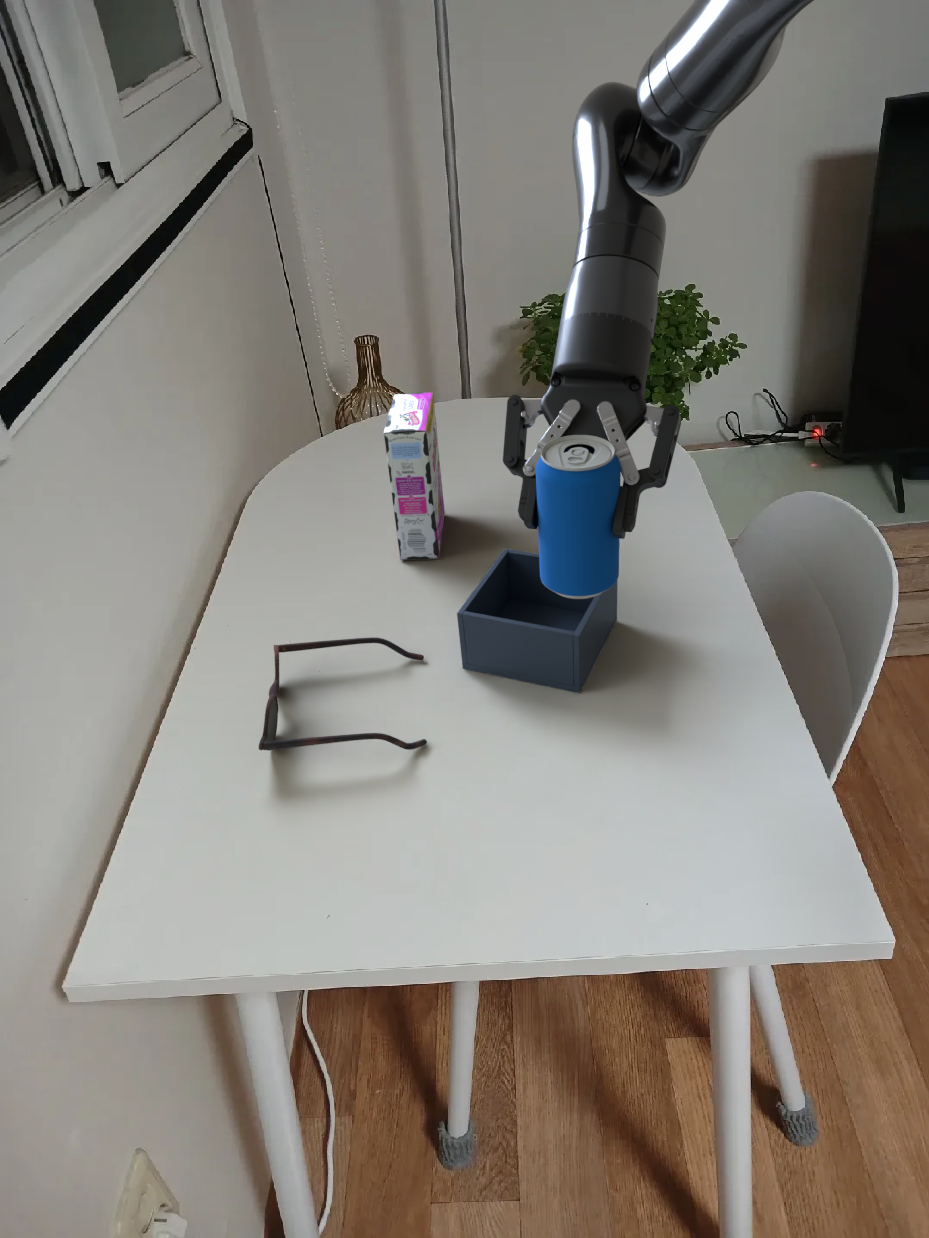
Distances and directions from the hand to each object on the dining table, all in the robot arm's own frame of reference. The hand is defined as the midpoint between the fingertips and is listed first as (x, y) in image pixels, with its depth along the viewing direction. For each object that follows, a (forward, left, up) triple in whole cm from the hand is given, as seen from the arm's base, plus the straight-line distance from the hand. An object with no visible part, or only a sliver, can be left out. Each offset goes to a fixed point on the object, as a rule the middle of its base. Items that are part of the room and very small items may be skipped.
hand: (574, 531), depth 75 cm
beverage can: (0, -2, -6) cm, 6 cm away
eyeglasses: (+21, +5, -21) cm, 30 cm away
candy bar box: (+28, -26, -21) cm, 44 cm away
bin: (+7, -10, -20) cm, 24 cm away
